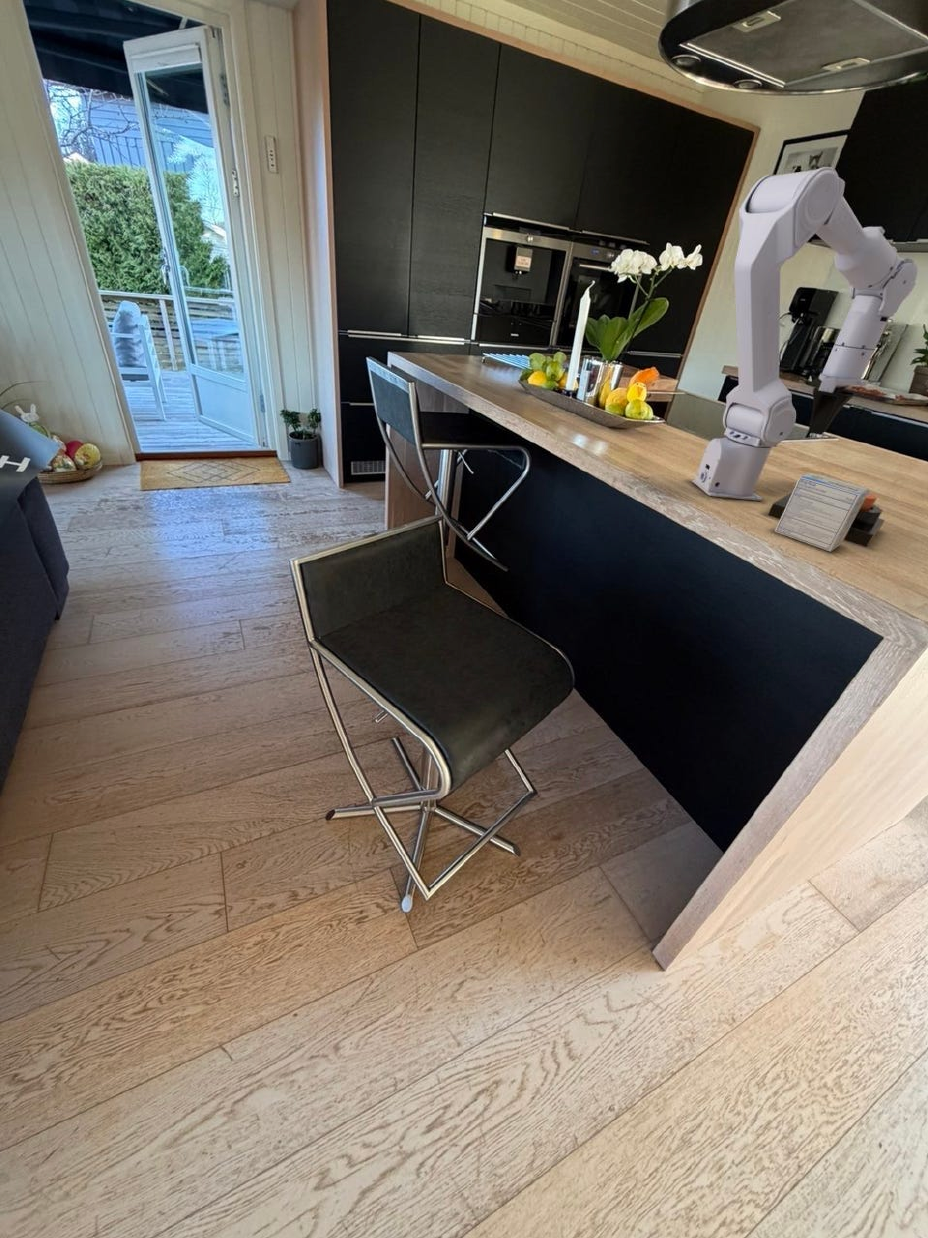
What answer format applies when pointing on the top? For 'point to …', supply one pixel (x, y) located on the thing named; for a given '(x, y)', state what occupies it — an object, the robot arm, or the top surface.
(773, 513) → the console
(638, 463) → the top surface
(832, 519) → the medicine box
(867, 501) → the button
